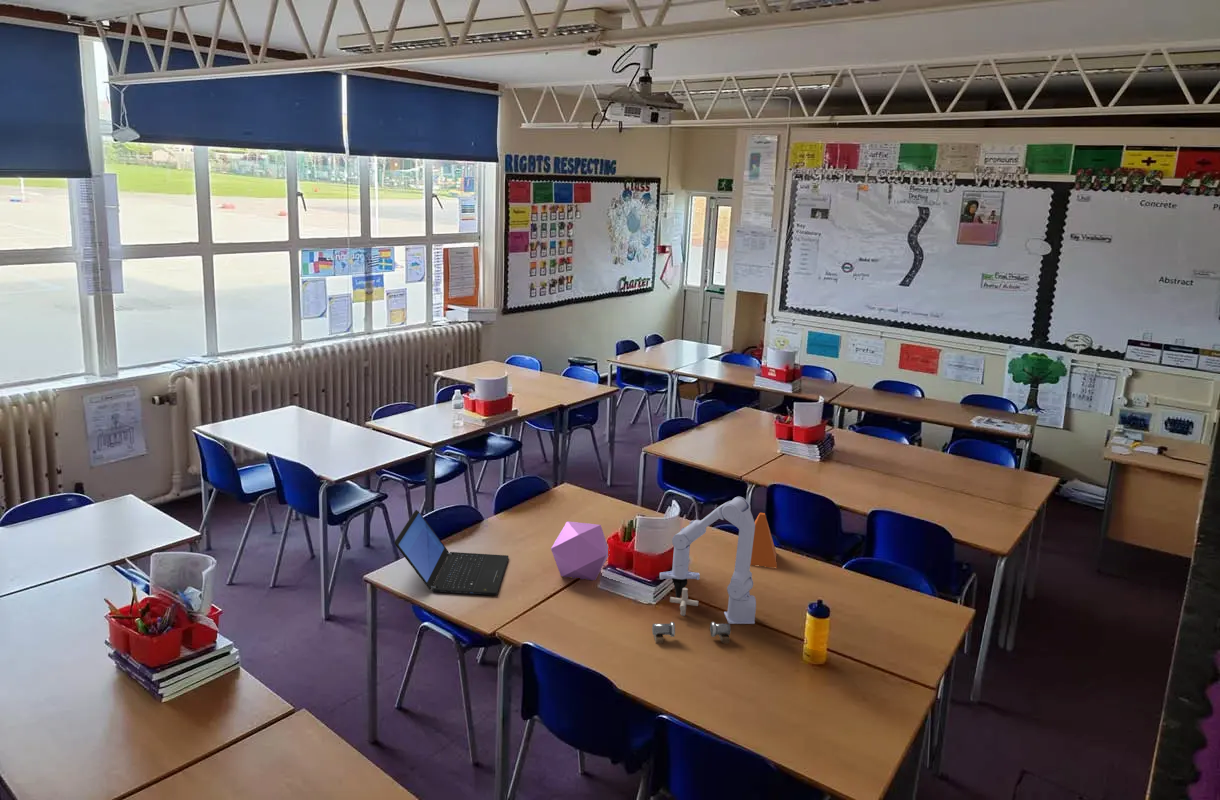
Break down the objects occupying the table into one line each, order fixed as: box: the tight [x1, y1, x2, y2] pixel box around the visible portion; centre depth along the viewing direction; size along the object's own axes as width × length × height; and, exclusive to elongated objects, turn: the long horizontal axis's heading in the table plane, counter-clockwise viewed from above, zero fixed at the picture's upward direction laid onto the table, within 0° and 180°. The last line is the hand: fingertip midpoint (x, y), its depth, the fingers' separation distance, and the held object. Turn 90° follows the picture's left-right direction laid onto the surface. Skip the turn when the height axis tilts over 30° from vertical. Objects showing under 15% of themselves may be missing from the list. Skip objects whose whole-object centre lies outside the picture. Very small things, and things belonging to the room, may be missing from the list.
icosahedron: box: [550, 520, 609, 581], centre depth 327 cm, size 22×21×25 cm
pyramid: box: [750, 512, 778, 569], centre depth 350 cm, size 16×16×20 cm
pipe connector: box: [669, 587, 699, 617], centre depth 302 cm, size 10×10×10 cm
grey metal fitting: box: [651, 621, 676, 644], centre depth 285 cm, size 7×5×6 cm
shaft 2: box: [709, 621, 731, 644], centre depth 287 cm, size 6×5×6 cm
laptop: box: [393, 509, 509, 596], centre depth 322 cm, size 33×38×19 cm
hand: (677, 596), depth 313 cm, fingers closed
